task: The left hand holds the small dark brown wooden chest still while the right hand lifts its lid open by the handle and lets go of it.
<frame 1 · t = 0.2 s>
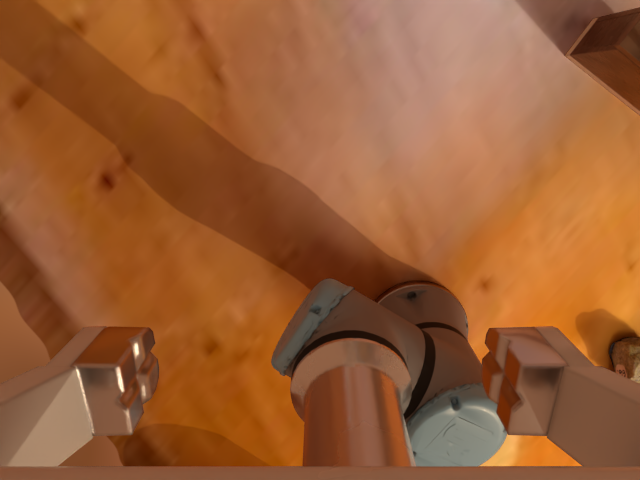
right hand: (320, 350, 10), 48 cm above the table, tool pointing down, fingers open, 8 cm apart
chest: (622, 72, 53), on the table
rock: (625, 361, 67), on the table
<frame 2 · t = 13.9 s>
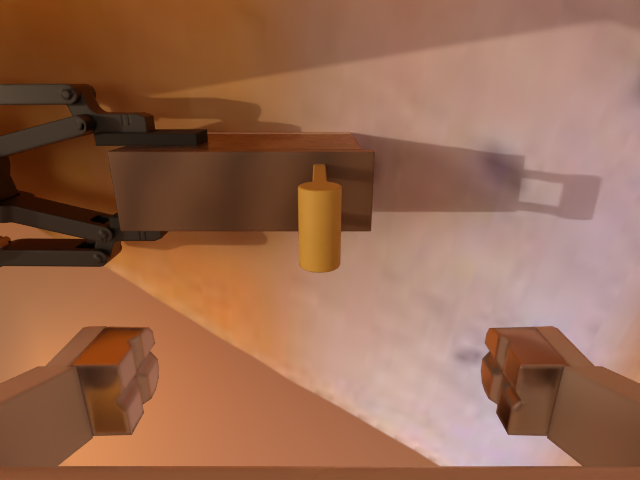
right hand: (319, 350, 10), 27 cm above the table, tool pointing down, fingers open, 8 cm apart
lid: (233, 207, 22), point 14 cm above the table, hinge at 0.0°
chest: (261, 162, 35), on the table, touching left hand
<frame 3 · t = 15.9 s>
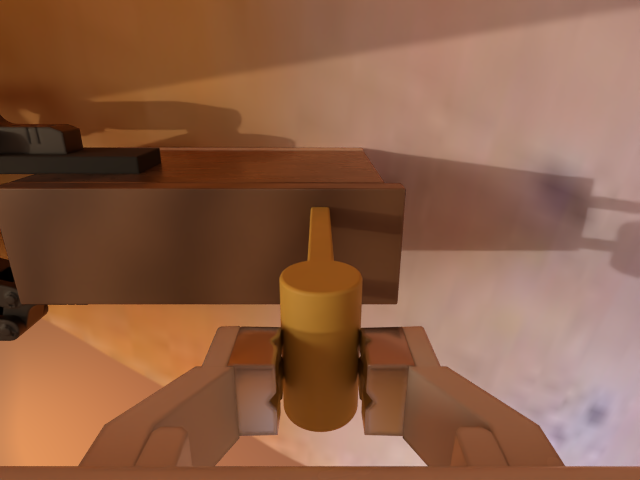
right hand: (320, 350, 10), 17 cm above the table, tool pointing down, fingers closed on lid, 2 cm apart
lid: (178, 286, 13), point 14 cm above the table, hinge at 0.0°, touching right hand
chest: (242, 186, 27), on the table, touching left hand
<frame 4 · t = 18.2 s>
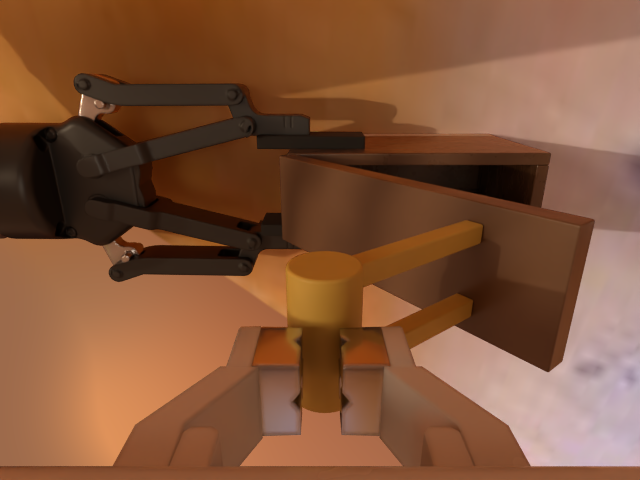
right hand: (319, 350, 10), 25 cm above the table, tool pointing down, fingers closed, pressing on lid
left hand: (360, 183, 28), fingers closed on chest, 5 cm apart
lid: (317, 252, 16), point 19 cm above the table, hinge at 51.9°, touching right hand
chest: (391, 165, 34), on the table, touching left hand
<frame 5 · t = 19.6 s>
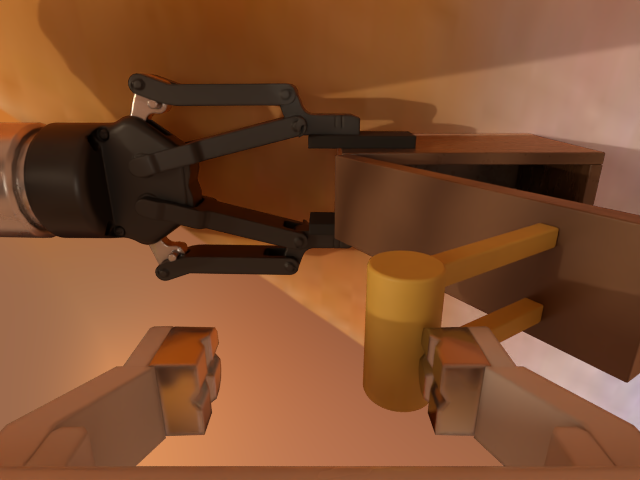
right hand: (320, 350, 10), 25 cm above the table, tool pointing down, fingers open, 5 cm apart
left hand: (407, 183, 28), fingers closed on chest, 5 cm apart
lid: (380, 251, 16), point 19 cm above the table, hinge at 56.0°, touching right hand
chest: (430, 164, 34), on the table, touching left hand
when the left hand's fingers open (7 cm above the table, at t = 23.0 s): chest stays where it is, on the table.
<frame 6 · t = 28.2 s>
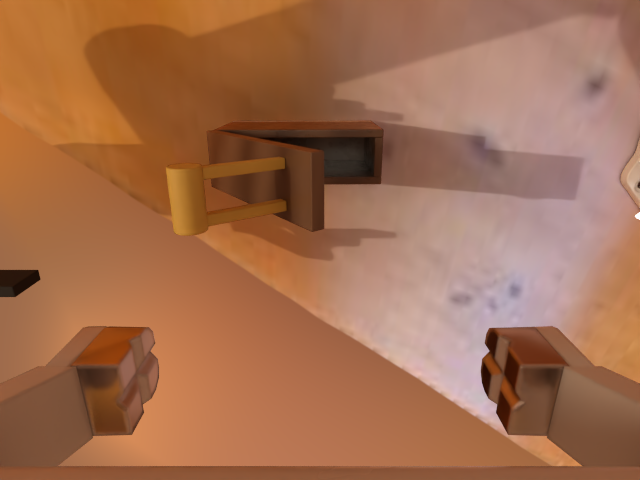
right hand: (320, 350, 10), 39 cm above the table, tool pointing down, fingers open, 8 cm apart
lid: (209, 178, 29), point 19 cm above the table, hinge at 53.5°
chest: (303, 143, 47), on the table
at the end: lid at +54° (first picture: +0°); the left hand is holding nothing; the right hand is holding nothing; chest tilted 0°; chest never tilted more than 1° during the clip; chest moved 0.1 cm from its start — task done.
